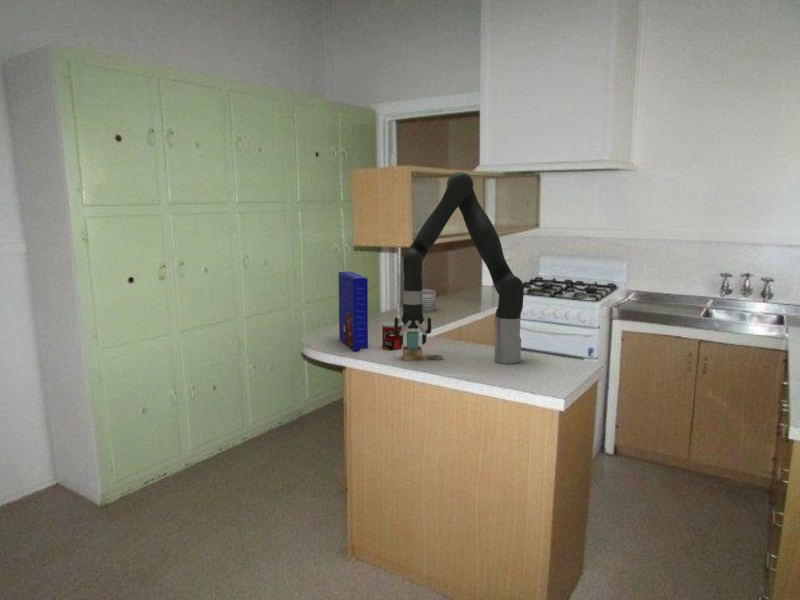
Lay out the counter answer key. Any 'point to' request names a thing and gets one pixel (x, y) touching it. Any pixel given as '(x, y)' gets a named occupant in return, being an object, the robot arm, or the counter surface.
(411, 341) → the teal block
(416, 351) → the holder
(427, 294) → the can
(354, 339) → the cereal box
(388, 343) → the canned food
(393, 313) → the counter surface
